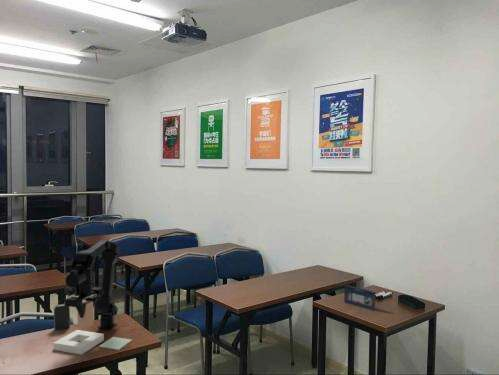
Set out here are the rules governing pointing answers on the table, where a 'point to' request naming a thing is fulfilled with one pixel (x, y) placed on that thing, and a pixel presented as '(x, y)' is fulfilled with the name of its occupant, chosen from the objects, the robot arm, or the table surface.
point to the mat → (115, 343)
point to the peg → (86, 315)
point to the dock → (73, 346)
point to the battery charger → (61, 316)
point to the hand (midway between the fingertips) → (85, 315)
